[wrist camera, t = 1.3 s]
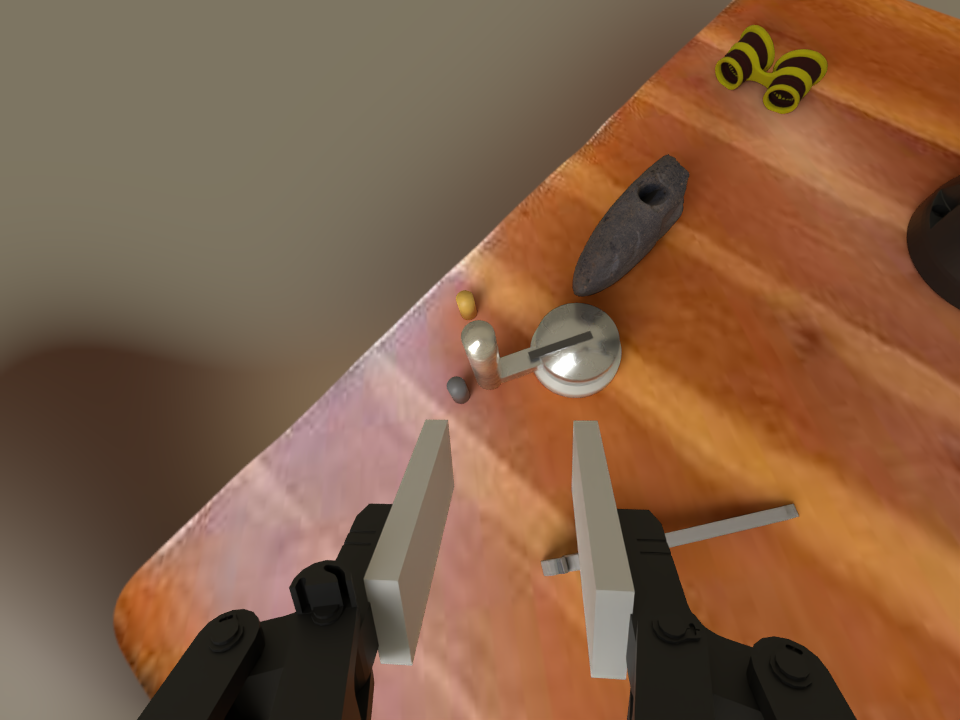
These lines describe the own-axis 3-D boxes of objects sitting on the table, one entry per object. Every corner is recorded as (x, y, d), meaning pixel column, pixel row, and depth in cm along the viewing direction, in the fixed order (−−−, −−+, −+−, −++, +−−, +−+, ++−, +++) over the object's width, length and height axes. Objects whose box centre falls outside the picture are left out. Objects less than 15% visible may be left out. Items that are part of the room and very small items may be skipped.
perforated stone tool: (593, 321, 46) (602, 284, 40) (550, 289, 48) (552, 249, 42) (689, 218, 49) (712, 168, 43) (646, 191, 51) (662, 139, 44)
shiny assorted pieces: (579, 266, 48) (581, 249, 46) (633, 380, 44) (640, 369, 41) (427, 319, 48) (420, 305, 45) (465, 438, 44) (460, 431, 41)
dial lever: (597, 302, 45) (611, 243, 36) (629, 370, 42) (652, 324, 34) (465, 348, 45) (447, 300, 36) (489, 419, 42) (477, 385, 33)
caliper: (543, 574, 39) (544, 579, 33) (540, 560, 40) (540, 562, 34) (796, 517, 39) (842, 511, 33) (790, 503, 39) (834, 495, 33)
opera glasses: (707, 87, 56) (716, 51, 51) (737, 52, 56) (749, 13, 51) (784, 127, 53) (802, 93, 48) (817, 90, 53) (838, 52, 48)
